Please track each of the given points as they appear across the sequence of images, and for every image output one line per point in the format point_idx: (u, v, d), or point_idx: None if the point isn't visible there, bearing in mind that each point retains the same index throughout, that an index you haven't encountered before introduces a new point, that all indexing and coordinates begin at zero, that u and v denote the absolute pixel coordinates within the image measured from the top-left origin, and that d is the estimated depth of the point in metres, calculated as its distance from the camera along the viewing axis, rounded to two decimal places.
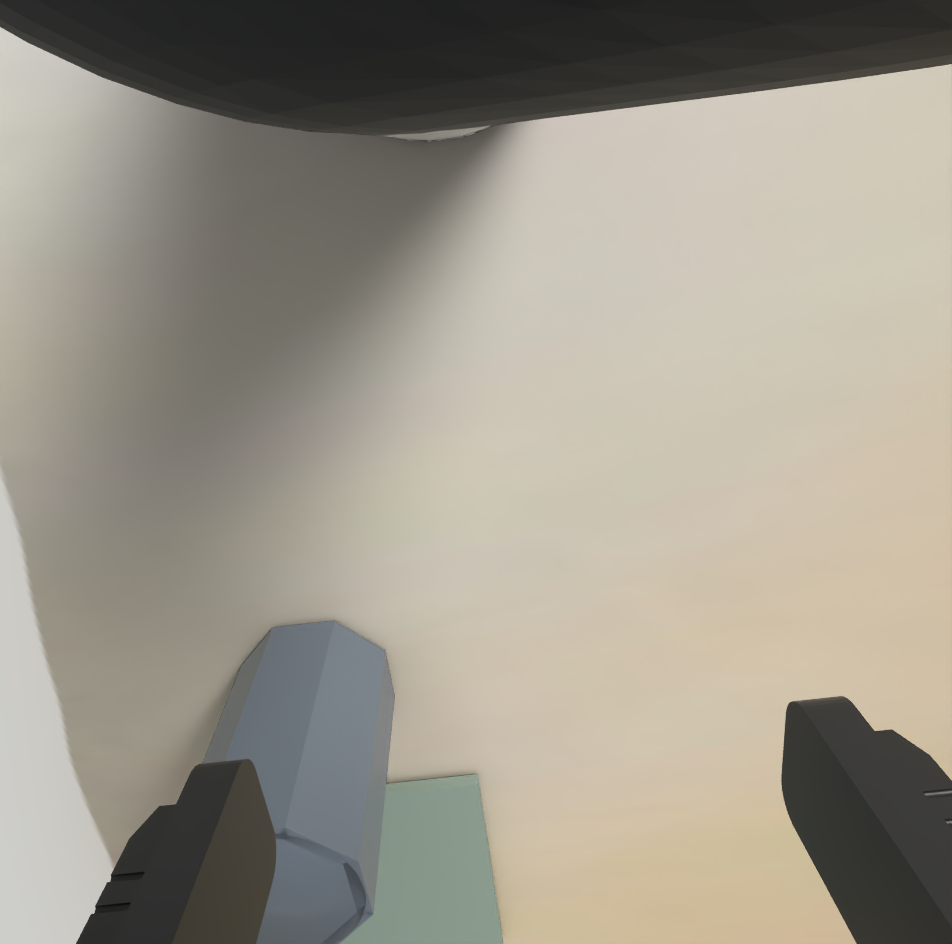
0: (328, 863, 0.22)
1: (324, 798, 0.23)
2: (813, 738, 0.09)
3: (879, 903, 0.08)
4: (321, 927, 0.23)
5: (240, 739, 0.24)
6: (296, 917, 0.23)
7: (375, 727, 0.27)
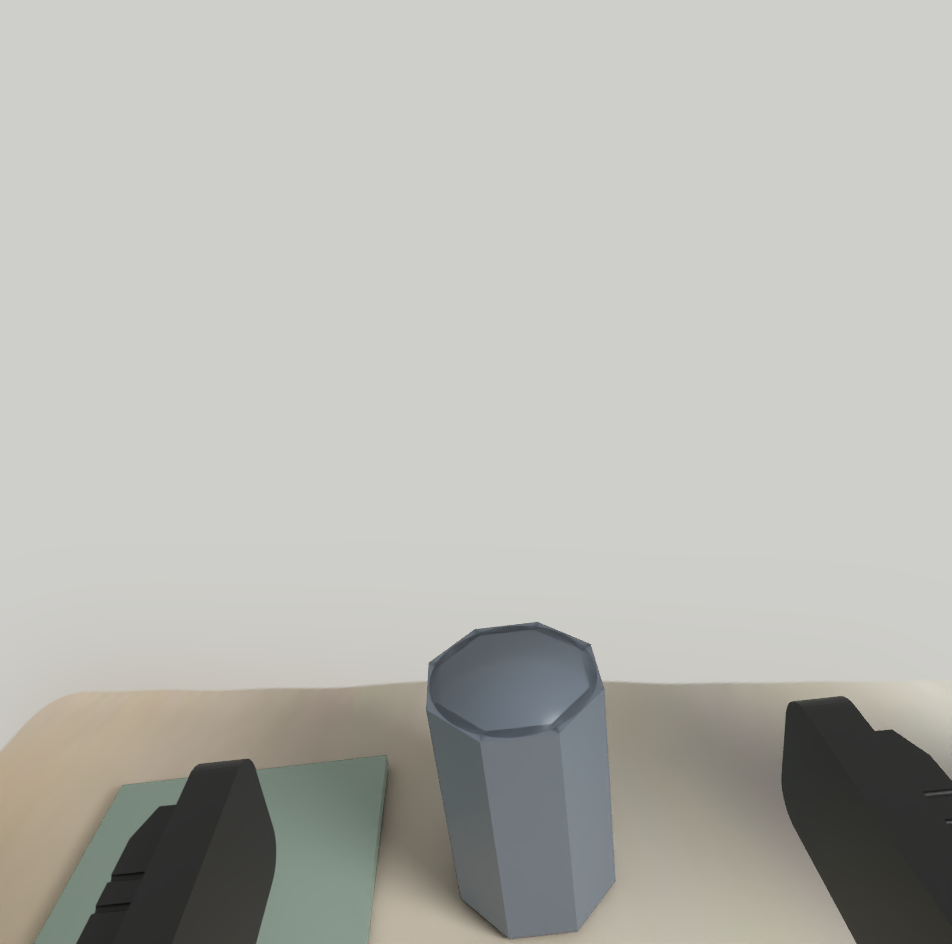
0: (558, 713, 0.24)
1: (588, 741, 0.25)
2: (813, 738, 0.09)
3: (880, 904, 0.08)
4: (467, 706, 0.25)
5: None
6: (484, 691, 0.26)
7: (568, 850, 0.25)
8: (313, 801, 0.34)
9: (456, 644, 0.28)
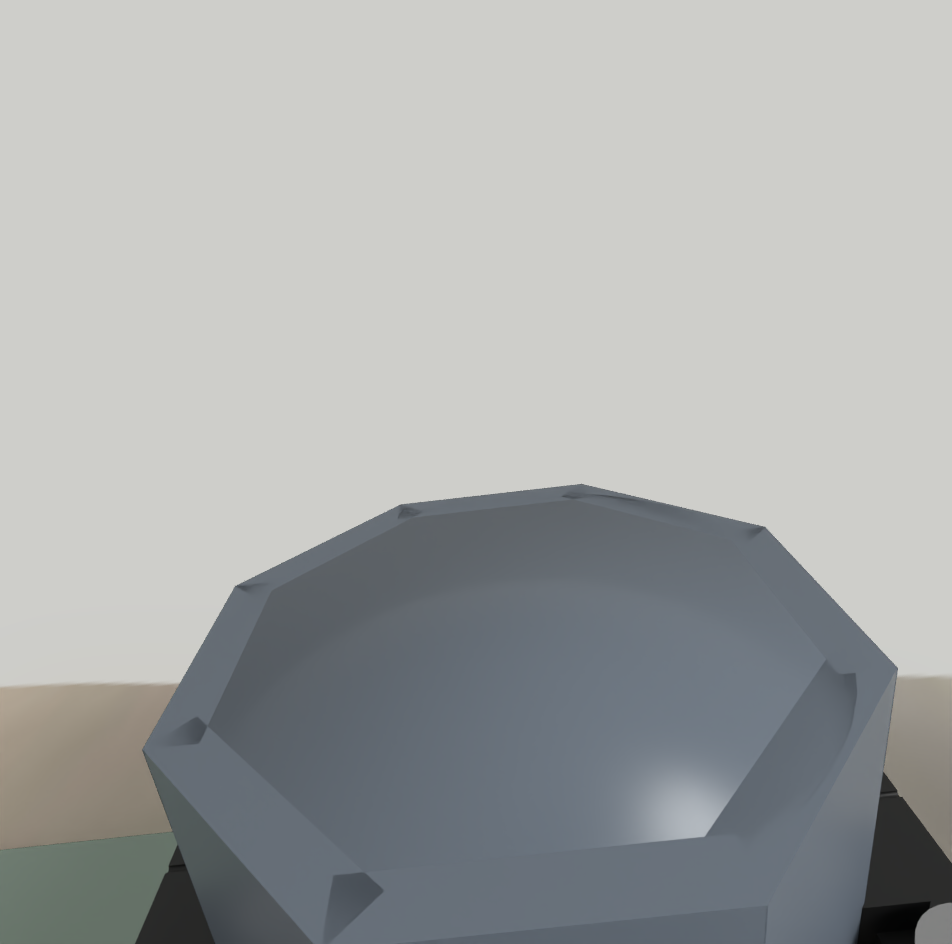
0: (724, 778, 0.05)
1: (837, 893, 0.06)
2: None
3: None
4: (311, 737, 0.06)
5: None
6: (394, 675, 0.06)
7: None
8: (45, 942, 0.14)
9: (338, 538, 0.09)
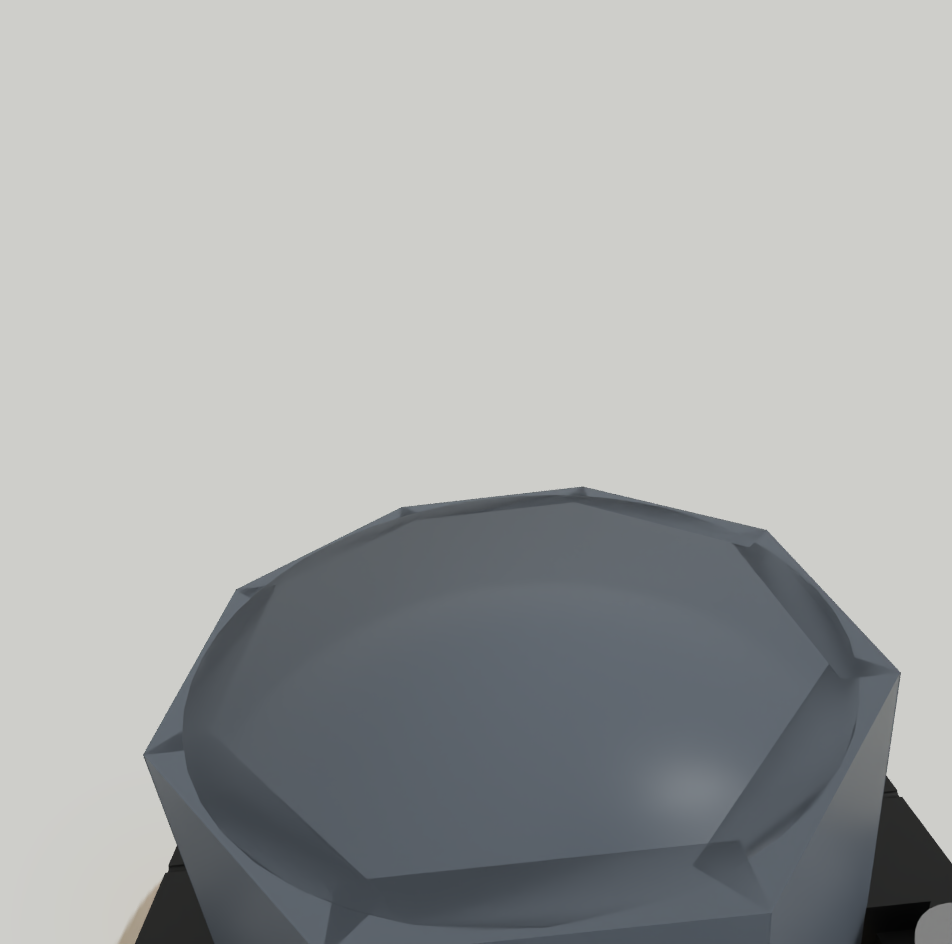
0: (728, 785, 0.05)
1: (837, 899, 0.06)
2: None
3: None
4: (312, 742, 0.06)
5: None
6: (396, 680, 0.06)
7: None
8: None
9: (339, 541, 0.09)
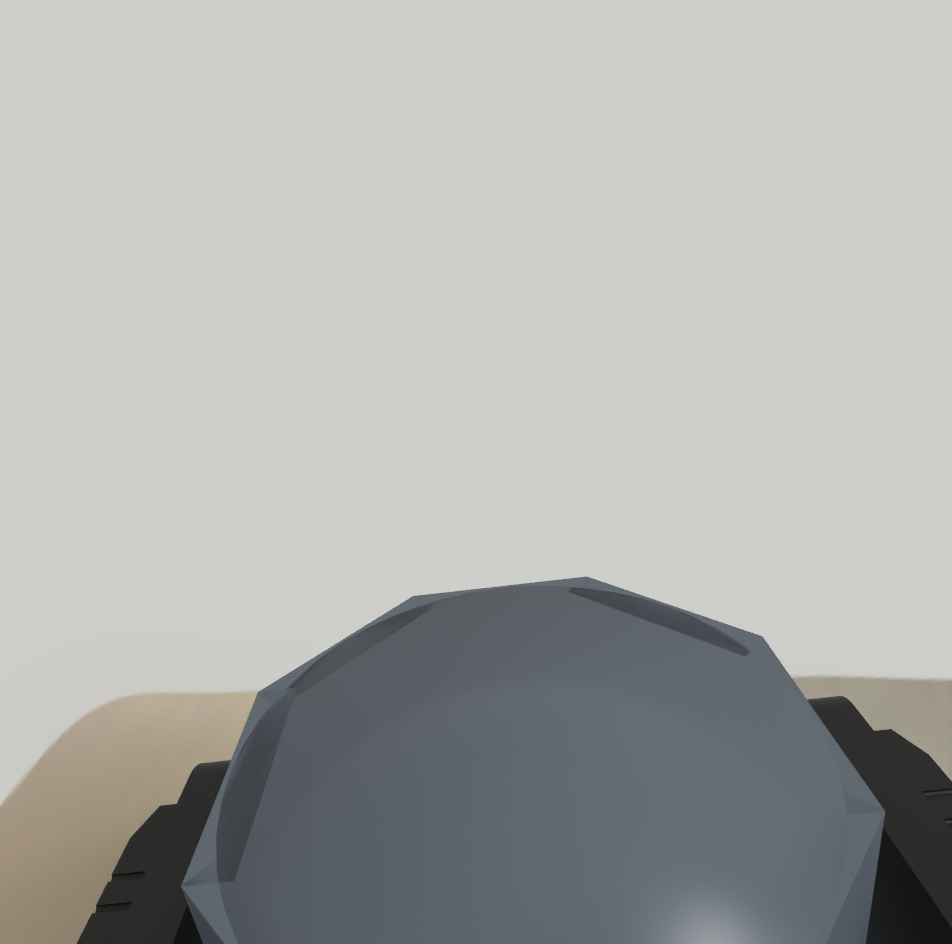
0: (724, 936, 0.05)
1: None
2: None
3: (878, 902, 0.08)
4: (339, 877, 0.06)
5: None
6: (415, 805, 0.07)
7: None
8: None
9: (355, 636, 0.10)
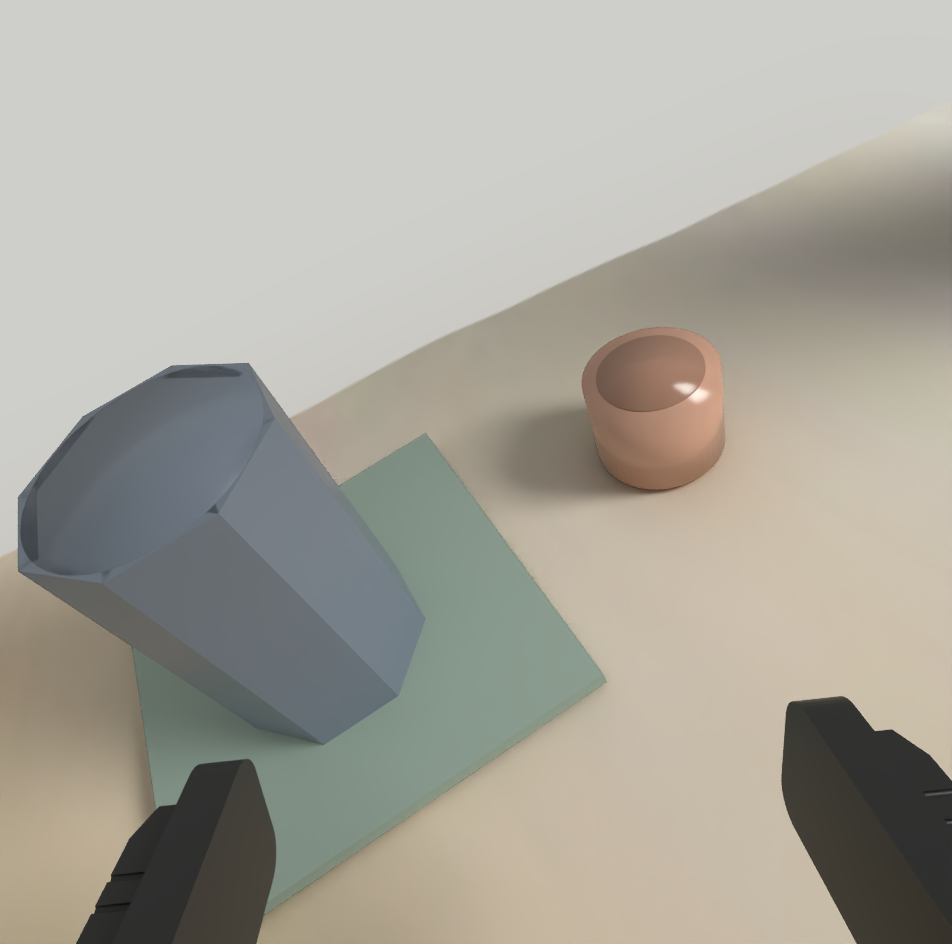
0: (213, 484, 0.15)
1: (287, 497, 0.16)
2: (813, 738, 0.09)
3: (881, 904, 0.08)
4: (79, 537, 0.15)
5: (318, 460, 0.20)
6: (102, 501, 0.16)
7: (334, 633, 0.18)
8: (378, 512, 0.27)
9: (57, 450, 0.18)
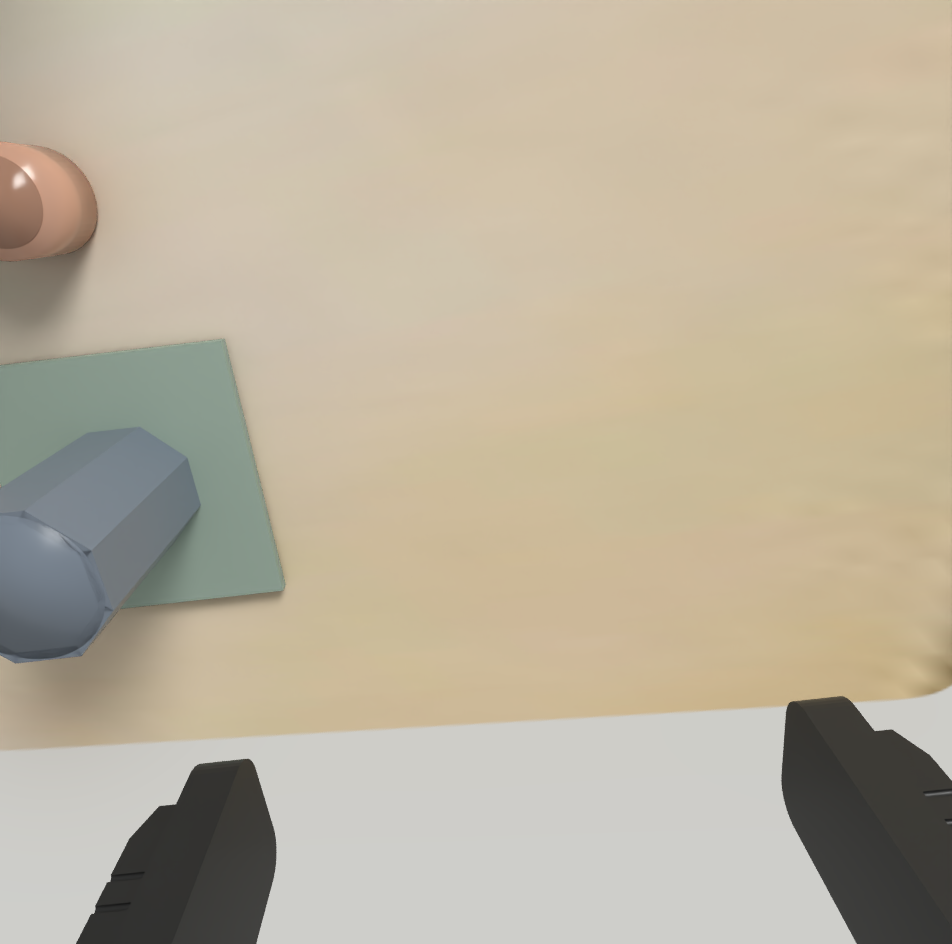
0: (66, 551, 0.26)
1: (74, 510, 0.27)
2: (813, 738, 0.09)
3: (880, 904, 0.08)
4: (71, 624, 0.27)
5: (19, 479, 0.29)
6: (47, 612, 0.27)
7: (151, 493, 0.31)
8: (31, 432, 0.34)
9: None
